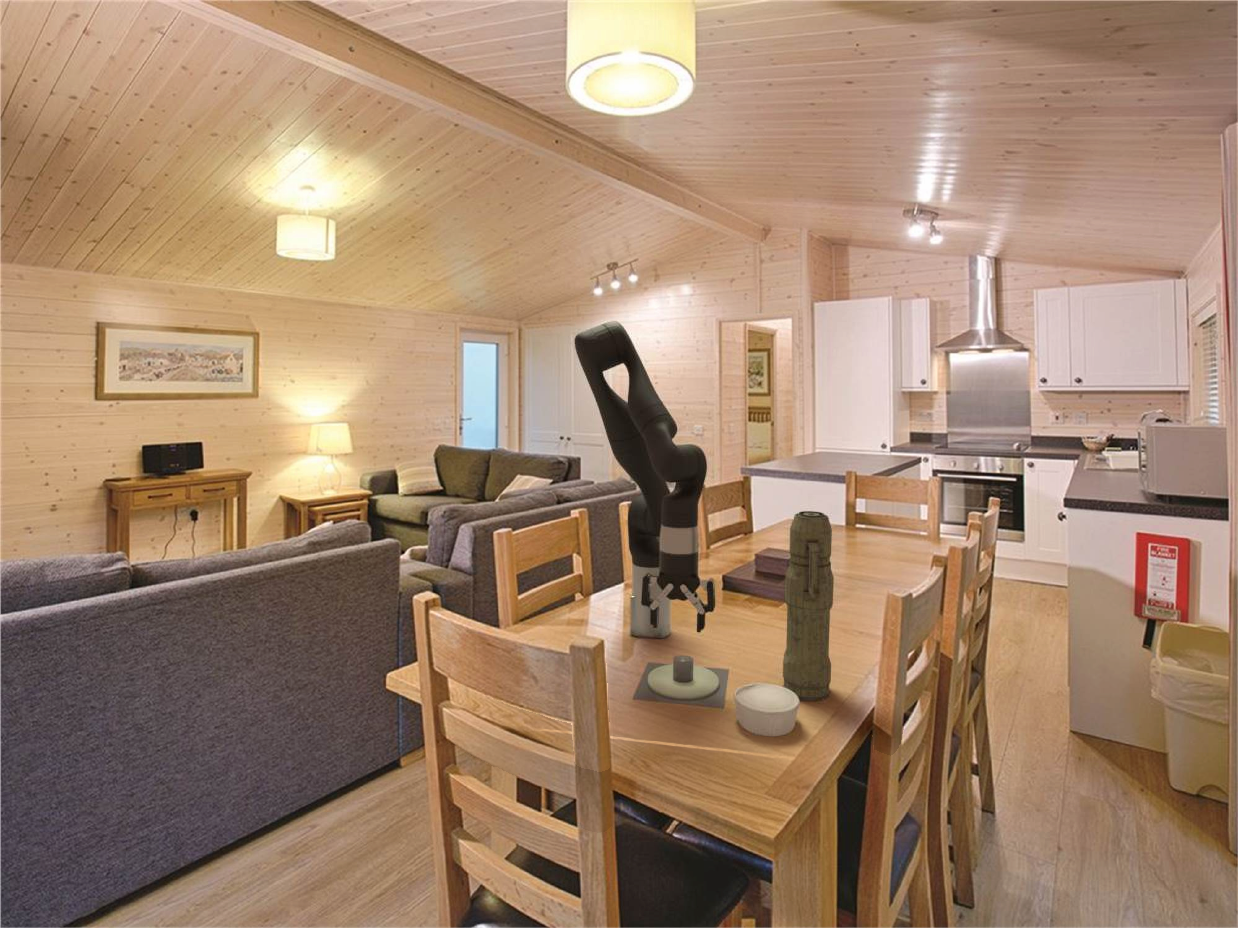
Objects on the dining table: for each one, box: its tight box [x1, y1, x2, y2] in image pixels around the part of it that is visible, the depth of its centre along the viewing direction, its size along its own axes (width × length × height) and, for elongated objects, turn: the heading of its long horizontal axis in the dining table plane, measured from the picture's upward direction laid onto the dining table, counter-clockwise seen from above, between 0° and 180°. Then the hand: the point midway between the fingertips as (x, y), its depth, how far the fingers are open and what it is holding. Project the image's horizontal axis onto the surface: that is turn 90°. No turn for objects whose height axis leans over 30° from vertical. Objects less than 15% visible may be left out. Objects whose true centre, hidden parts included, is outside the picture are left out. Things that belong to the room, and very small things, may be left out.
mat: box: [632, 661, 730, 709], centre depth 129 cm, size 17×17×1 cm
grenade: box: [782, 510, 835, 702], centre depth 124 cm, size 9×12×35 cm
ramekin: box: [733, 682, 800, 737], centre depth 113 cm, size 11×11×5 cm
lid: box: [648, 654, 719, 700], centre depth 128 cm, size 14×14×5 cm
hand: (677, 628), depth 127 cm, fingers open, 8 cm apart
